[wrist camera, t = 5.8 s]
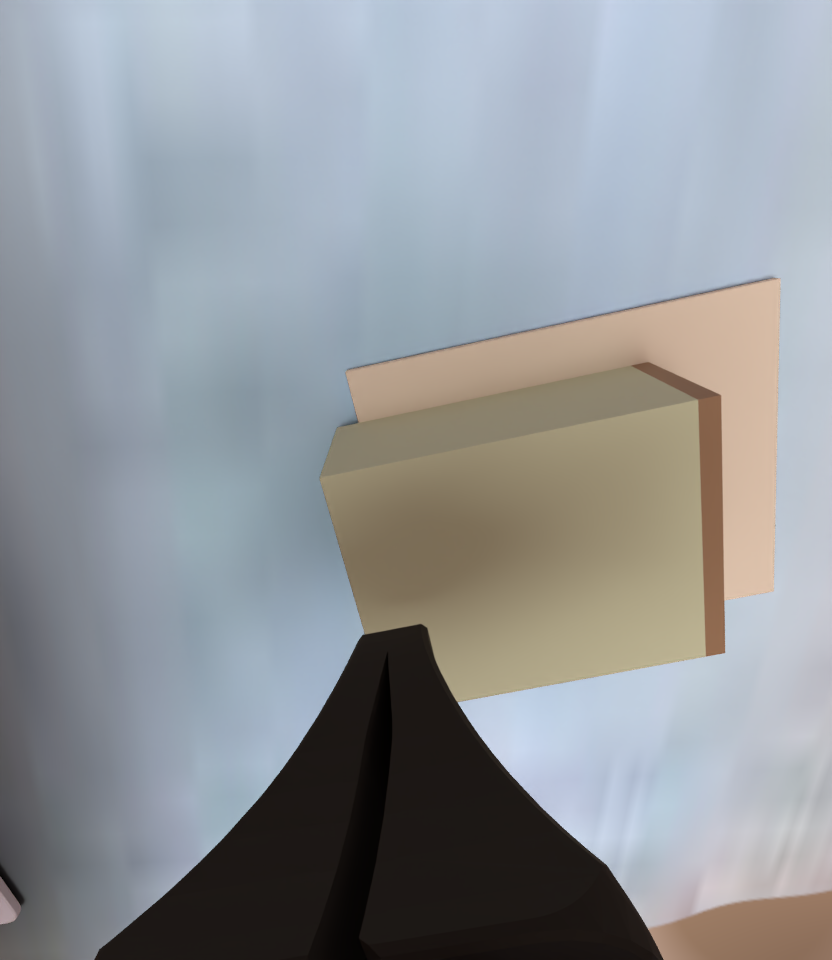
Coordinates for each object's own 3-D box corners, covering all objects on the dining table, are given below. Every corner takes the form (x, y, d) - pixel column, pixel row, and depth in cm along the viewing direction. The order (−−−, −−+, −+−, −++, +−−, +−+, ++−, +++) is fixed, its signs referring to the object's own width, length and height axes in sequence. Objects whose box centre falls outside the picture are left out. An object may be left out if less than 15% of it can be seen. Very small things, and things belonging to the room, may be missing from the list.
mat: (418, 652, 20) (418, 657, 20) (346, 369, 17) (345, 372, 16) (768, 586, 20) (773, 591, 19) (773, 278, 16) (780, 278, 16)
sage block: (388, 714, 16) (724, 652, 15) (319, 477, 13) (720, 395, 13) (390, 625, 19) (661, 573, 19) (337, 427, 17) (648, 361, 16)
